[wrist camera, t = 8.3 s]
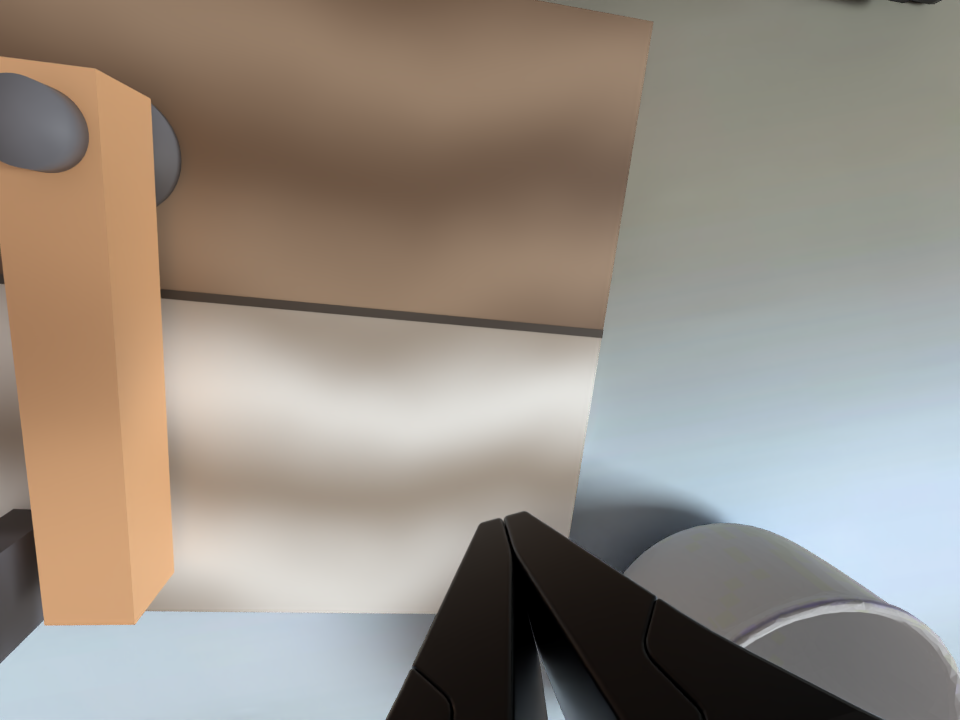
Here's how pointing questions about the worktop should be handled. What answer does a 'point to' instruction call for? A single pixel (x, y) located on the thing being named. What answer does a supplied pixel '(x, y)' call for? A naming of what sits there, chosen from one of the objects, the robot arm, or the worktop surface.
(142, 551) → the bar
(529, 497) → the door and jamb
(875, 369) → the worktop surface
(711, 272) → the worktop surface
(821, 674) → the teacup
